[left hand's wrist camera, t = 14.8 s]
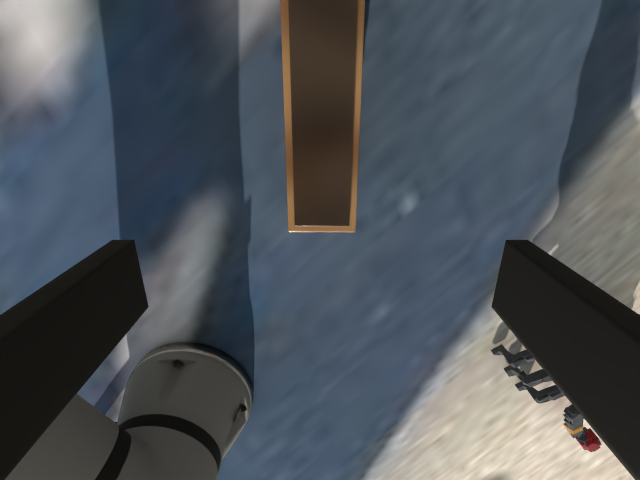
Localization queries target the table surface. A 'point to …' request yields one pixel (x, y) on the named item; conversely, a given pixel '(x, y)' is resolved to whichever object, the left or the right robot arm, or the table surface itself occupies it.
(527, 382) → the toy
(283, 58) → the tray
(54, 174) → the table surface
